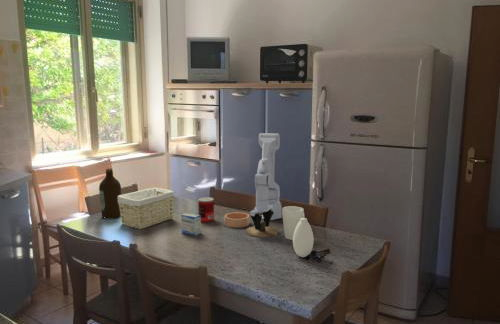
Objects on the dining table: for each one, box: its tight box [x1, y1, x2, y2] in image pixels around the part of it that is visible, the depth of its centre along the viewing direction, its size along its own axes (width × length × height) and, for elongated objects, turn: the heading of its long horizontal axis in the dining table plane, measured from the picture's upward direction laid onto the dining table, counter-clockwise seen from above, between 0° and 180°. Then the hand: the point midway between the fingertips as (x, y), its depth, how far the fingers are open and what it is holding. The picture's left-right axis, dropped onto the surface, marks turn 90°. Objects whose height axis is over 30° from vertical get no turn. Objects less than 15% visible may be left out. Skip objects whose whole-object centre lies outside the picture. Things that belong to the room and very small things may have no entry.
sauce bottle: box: [292, 212, 315, 258], centre depth 164 cm, size 8×8×18 cm
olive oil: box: [98, 168, 122, 219], centre depth 217 cm, size 11×11×25 cm
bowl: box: [224, 211, 251, 229], centre depth 207 cm, size 12×12×4 cm
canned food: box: [197, 196, 215, 223], centre depth 212 cm, size 8×8×11 cm
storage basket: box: [117, 187, 175, 230], centre depth 209 cm, size 24×16×15 cm
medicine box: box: [180, 212, 202, 236], centre depth 193 cm, size 8×4×9 cm, turn 62°
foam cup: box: [281, 205, 305, 241], centre depth 187 cm, size 10×9×13 cm
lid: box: [245, 220, 279, 238], centre depth 195 cm, size 15×15×5 cm
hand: (262, 227), depth 195 cm, fingers open, 6 cm apart
